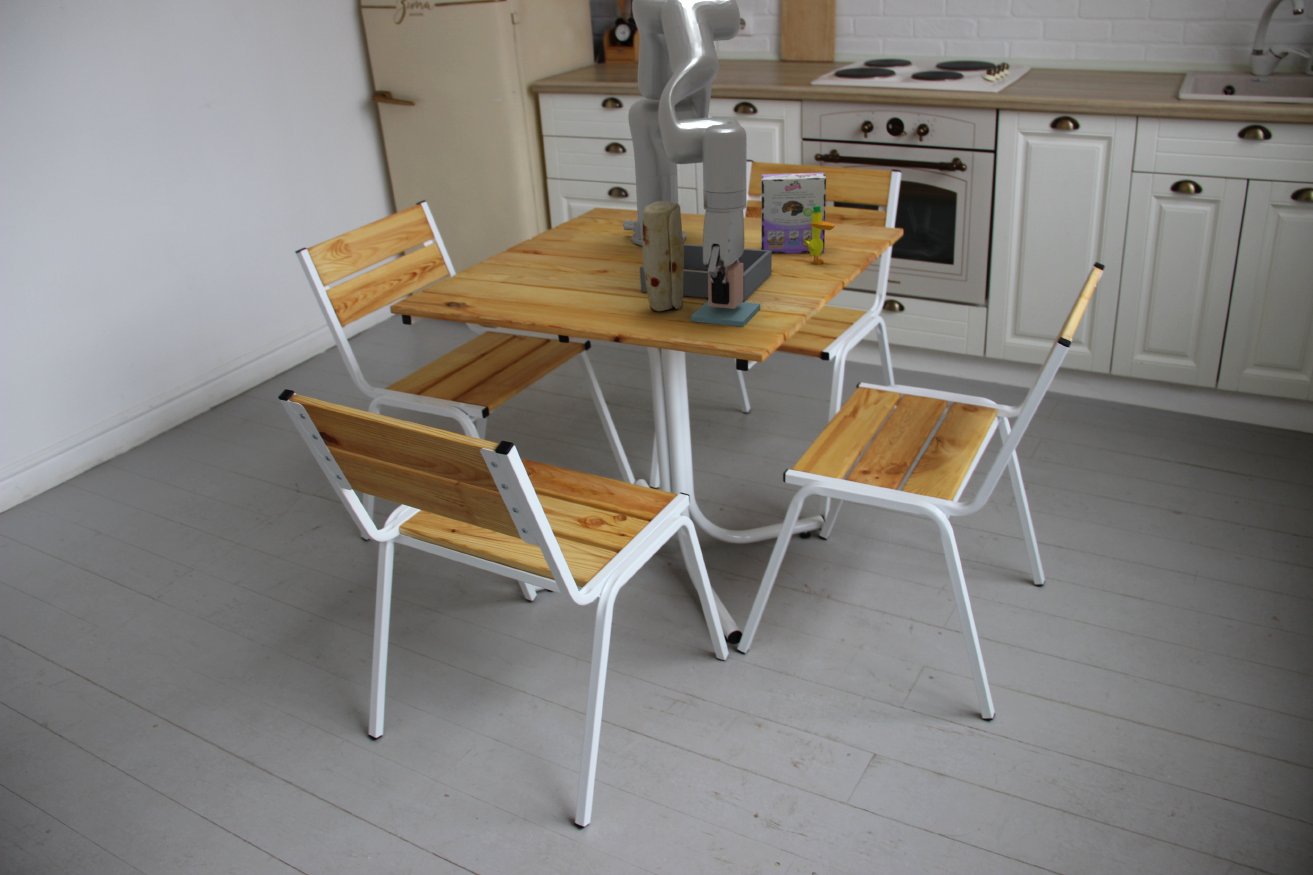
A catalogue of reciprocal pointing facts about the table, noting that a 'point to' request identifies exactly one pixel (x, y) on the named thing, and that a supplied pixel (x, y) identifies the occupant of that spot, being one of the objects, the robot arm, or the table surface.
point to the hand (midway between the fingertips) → (725, 297)
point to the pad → (726, 314)
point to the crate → (697, 281)
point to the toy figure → (817, 234)
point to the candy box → (790, 210)
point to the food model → (663, 255)
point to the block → (730, 286)
